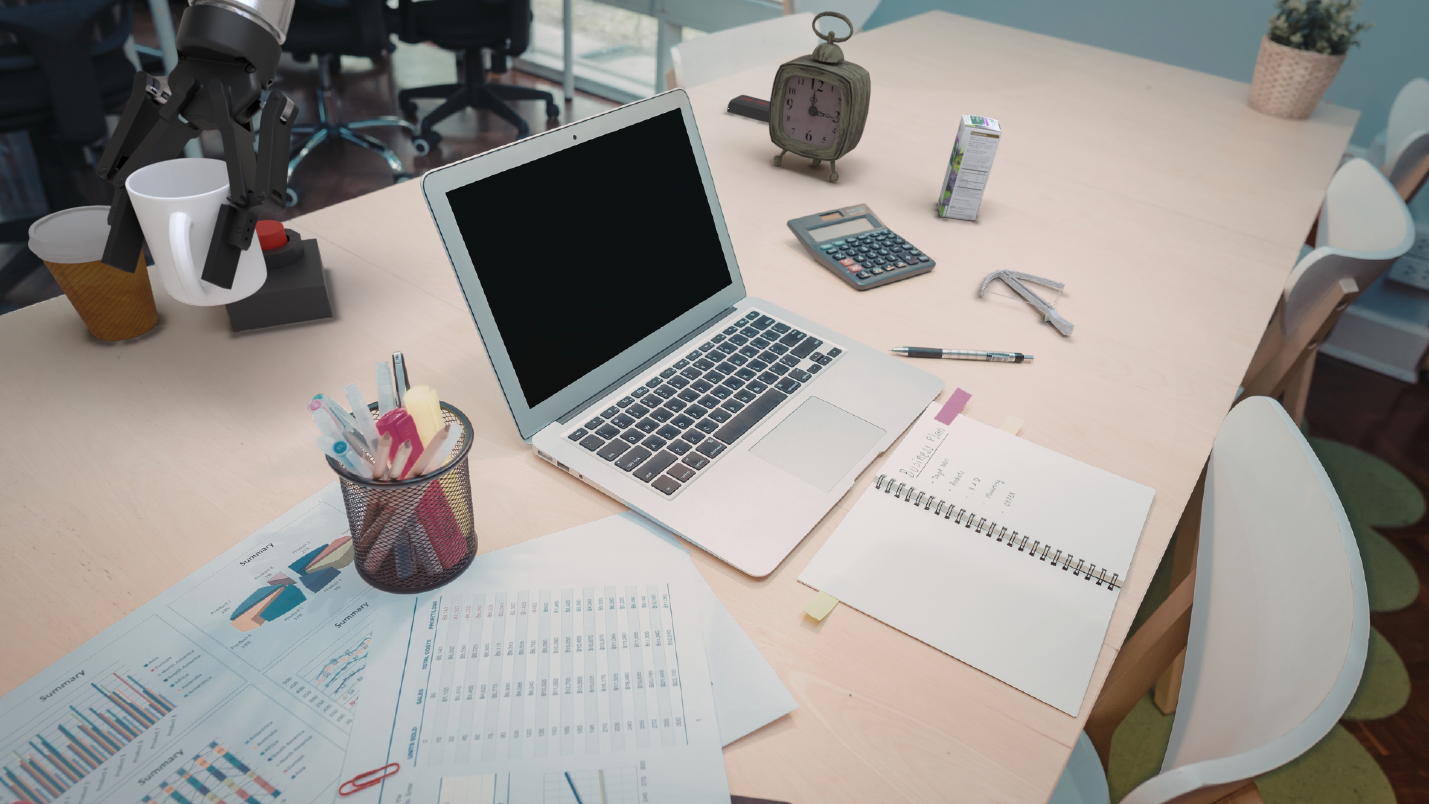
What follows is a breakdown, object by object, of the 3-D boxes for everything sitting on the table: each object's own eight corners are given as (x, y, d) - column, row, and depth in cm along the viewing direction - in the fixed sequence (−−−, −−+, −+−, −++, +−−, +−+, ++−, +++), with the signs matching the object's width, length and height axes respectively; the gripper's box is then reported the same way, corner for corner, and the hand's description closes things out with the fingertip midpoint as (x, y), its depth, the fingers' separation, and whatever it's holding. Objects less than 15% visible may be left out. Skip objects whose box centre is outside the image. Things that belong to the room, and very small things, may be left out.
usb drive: (739, 105, 164) (741, 91, 162) (792, 119, 160) (794, 105, 158) (727, 111, 160) (728, 97, 159) (780, 126, 156) (782, 111, 154)
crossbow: (958, 282, 112) (962, 269, 111) (1037, 277, 115) (1041, 264, 114) (1023, 339, 99) (1027, 324, 98) (1110, 331, 103) (1115, 317, 101)
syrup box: (936, 202, 132) (959, 112, 123) (973, 207, 132) (999, 117, 123) (938, 217, 127) (963, 125, 119) (976, 222, 127) (1004, 130, 118)
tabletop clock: (762, 165, 139) (780, 7, 124) (786, 151, 146) (806, -1, 130) (838, 188, 134) (867, 25, 119) (860, 172, 140) (890, 16, 125)
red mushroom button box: (233, 279, 97) (218, 233, 94) (323, 267, 101) (312, 222, 98) (234, 332, 89) (217, 284, 85) (332, 317, 93) (321, 270, 89)
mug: (257, 328, 69) (223, 217, 63) (146, 336, 67) (99, 222, 61) (274, 259, 78) (246, 156, 72) (176, 264, 76) (138, 158, 69)
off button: (248, 238, 94) (243, 222, 93) (286, 234, 96) (282, 218, 94) (249, 254, 91) (244, 237, 90) (288, 249, 93) (284, 232, 92)
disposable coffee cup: (148, 293, 94) (109, 195, 86) (193, 323, 89) (155, 223, 82) (56, 326, 87) (4, 223, 80) (98, 360, 83) (49, 255, 76)
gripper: (90, -16, 68) (11, 242, 65) (325, 15, 66) (255, 282, 63) (157, 37, 75) (90, 270, 72) (370, 66, 73) (309, 307, 70)
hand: (166, 276), depth 68 cm, fingers closed on mug, 8 cm apart
